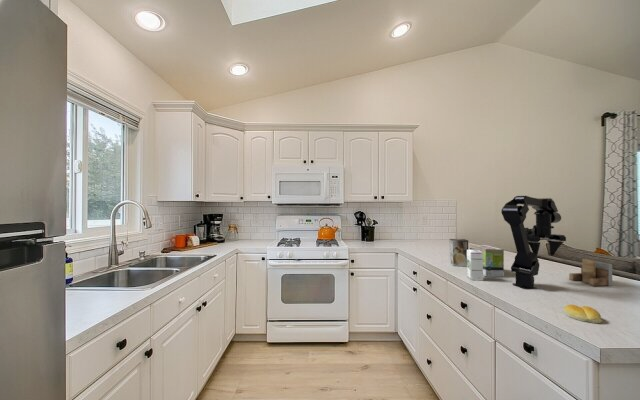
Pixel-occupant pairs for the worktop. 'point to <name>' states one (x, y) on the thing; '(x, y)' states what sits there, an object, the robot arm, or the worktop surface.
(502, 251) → the tea box
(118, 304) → the worktop surface
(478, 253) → the syrup box
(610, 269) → the backstop wall
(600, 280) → the cradle
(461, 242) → the coffee box
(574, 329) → the worktop surface
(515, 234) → the robot arm
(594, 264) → the dowel
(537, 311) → the worktop surface
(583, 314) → the bread roll
